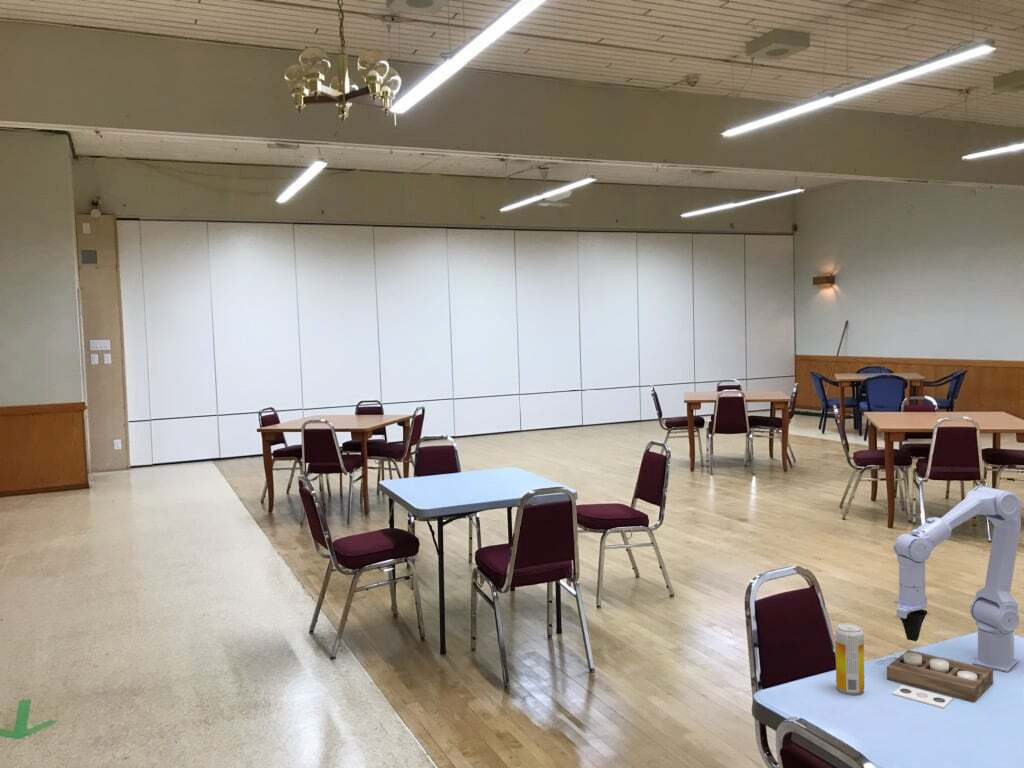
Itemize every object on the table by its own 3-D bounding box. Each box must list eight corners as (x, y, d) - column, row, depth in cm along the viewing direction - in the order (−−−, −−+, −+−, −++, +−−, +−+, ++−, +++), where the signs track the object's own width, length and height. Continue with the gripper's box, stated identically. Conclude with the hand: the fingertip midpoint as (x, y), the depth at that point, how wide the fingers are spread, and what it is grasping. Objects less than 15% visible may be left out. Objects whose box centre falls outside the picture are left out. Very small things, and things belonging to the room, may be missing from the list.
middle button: (933, 667, 195) (933, 657, 195) (951, 671, 192) (951, 661, 192) (927, 672, 192) (927, 662, 192) (945, 677, 189) (945, 666, 189)
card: (902, 686, 190) (902, 684, 190) (952, 699, 182) (952, 697, 182) (892, 694, 186) (892, 692, 186) (943, 708, 178) (943, 706, 178)
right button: (960, 679, 191) (960, 669, 190) (979, 684, 188) (979, 673, 188) (955, 685, 188) (955, 674, 188) (974, 689, 185) (974, 679, 185)
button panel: (908, 662, 204) (908, 649, 204) (993, 682, 190) (993, 669, 190) (887, 679, 194) (886, 666, 194) (974, 702, 180) (974, 688, 180)
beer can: (859, 684, 191) (858, 622, 191) (868, 695, 185) (867, 631, 185) (833, 684, 192) (832, 622, 191) (840, 695, 186) (839, 631, 185)
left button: (907, 661, 199) (907, 651, 199) (924, 665, 196) (924, 655, 196) (901, 665, 196) (901, 655, 196) (918, 670, 193) (918, 660, 193)
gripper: (905, 575, 203) (906, 628, 204) (883, 588, 193) (883, 643, 194) (935, 580, 198) (936, 634, 199) (914, 594, 188) (914, 651, 189)
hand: (912, 639), depth 196 cm, fingers closed
